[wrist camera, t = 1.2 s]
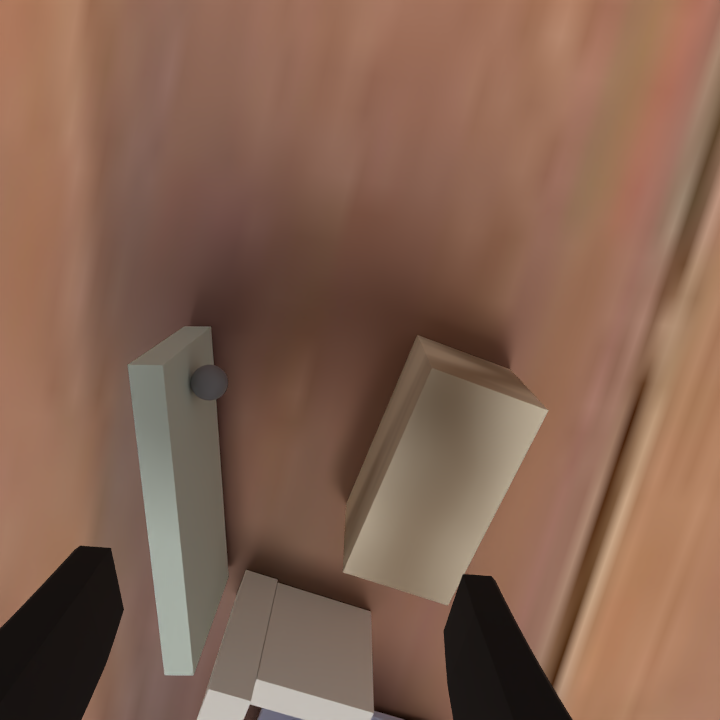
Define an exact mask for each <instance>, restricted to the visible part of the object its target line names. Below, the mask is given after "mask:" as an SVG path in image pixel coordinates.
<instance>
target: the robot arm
mask: <svg viewBox="0 0 720 720" xmlns="http://www.w3.org/2000/svg"><path fill="white" fill-rule="evenodd" d="M123 610H124V608H123V603H122V598H121V594H120V589H119V584H118V579H117V575H116V570H115V565H114V560H113V556H112V551H111V548H102V547H89V546H79V547H78V548H76V549H75V550H74V551H73V552H72V553H71V554H70V556H69V557H68V558H67V559H66V560H65V561H64V562H63V563H62V564H61V565H60V566H59V567H58V569H57V570H56V571H55V572H54V573H53V574H52V575H51V576H50V577H49V578H48V579H47V580H46V581H45V582H44V584H43V585H42V586H41V587H40V588H39V589H38V590H37V591H36V592H35V593H34V594H33V595H32V596H31V597H30V598H29V599H28V600H27V601H26V603H25V604H24V605H23V606H22V607H21V608H20V609H19V610H18V611H17V612H16V613H15V614H14V615H13V616H12V617H11V618H10V619H9V620H8V621H7V622H6V623H5V624H4V625H3V626H2V627H1V628H0V720H81V719H82V717H83V715H84V713H85V710H86V708H87V706H88V704H89V701H90V699H91V697H92V695H93V692H94V690H95V688H96V686H97V683H98V681H99V679H100V677H101V674H102V672H103V670H104V667H105V665H106V662H107V660H108V657H109V654H110V651H111V648H112V645H113V642H114V639H115V636H116V633H117V629H118V626H119V623H120V620H121V617H122V614H123ZM444 643H445V658H446V671H447V683H448V690H449V696H450V702H451V708H452V714H453V720H572V718H571V716H570V715H569V713H568V712H567V710H566V708H565V707H564V705H563V704H562V702H561V700H560V699H559V697H558V695H557V694H556V692H555V690H554V688H553V687H552V685H551V683H550V682H549V680H548V678H547V677H546V675H545V673H544V671H543V670H542V668H541V666H540V665H539V663H538V661H537V659H536V658H535V656H534V654H533V652H532V650H531V649H530V647H529V645H528V643H527V641H526V639H525V638H524V636H523V634H522V632H521V630H520V628H519V627H518V625H517V623H516V621H515V619H514V617H513V615H512V613H511V611H510V609H509V607H508V605H507V603H506V601H505V599H504V597H503V595H502V593H501V591H500V589H499V587H498V585H497V583H496V581H495V580H494V579H493V577H492V576H481V575H467V574H463V575H462V578H461V581H460V584H459V587H458V590H457V593H456V596H455V599H454V602H453V605H452V608H451V611H450V614H449V617H448V620H447V623H446V626H445V629H444ZM257 720H303V719H300V718H296V717H293V716H289V715H286V714H282V713H279V712H275V711H272V710H268V709H265V708H262V709H261V711H260V713H259V716H258V718H257ZM371 720H404V719H401V718H398V717H394V716H391V715H387V714H384V713H380V712H377V711H374V714H373V716H372V718H371Z"/></svg>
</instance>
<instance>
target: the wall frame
mask: <svg viewBox="0 0 720 720" xmlns="http://www.w3.org/2000/svg"><path fill="white" fill-rule="evenodd" d="M277 581H278V579H274V578H271V577H268V576H265V575H262V574H258V573H255V572H252V571H249V570H246V571H245V573H244V576H243V579H242V581H241V584H240V587H239V590H238V592H237V595H236V598H235V601H234V604H233V607H232V610H231V614H230V617H229V620H228V623H227V626H226V629H225V632H224V636H223V639H222V642H221V645H220V648H219V651H218V654H217V658H216V661H215V664H214V667H213V670H212V673H211V677H210V680H209V683H208V686H207V689H206V692H205V695H204V699H203V702H202V705H201V708H200V711H199V714H198V717H197V720H244V717H245V715H246V712H247V710H248V708H249V705H250V704H251V705H254V706H258V707H261V708H265V709H268V710H272V711H275V712H279V713H282V714H286V715H289V716H293V717H296V718H300V719H303V720H371V718H372V716H373V714H374V698H373V662H372V627H371V611H368V610H365V609H361V608H358V607H355V606H352V605H348V604H345V603H342V602H339V601H336V600H332V599H329V598H326V597H323V596H320V595H316V594H313V593H310V592H307V591H303V590H300V589H297V588H294V587H291V586H287V585H284V584H281V583H277Z"/></svg>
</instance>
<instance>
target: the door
mask: <svg viewBox="0 0 720 720" xmlns="http://www.w3.org/2000/svg"><path fill="white" fill-rule="evenodd" d="M128 372H129V380H130V389H131V397H132V406H133V414H134V422H135V431H136V439H137V448H138V456H139V464H140V473H141V481H142V490H143V498H144V506H145V515H146V523H147V532H148V540H149V548H150V557H151V565H152V574H153V582H154V590H155V599H156V607H157V616H158V624H159V632H160V641H161V649H162V658H163V666H164V674H165V675H191V676H194V673H195V670H196V667H197V665H198V662H199V659H200V656H201V653H202V650H203V648H204V645H205V642H206V639H207V636H208V634H209V631H210V628H211V625H212V622H213V619H214V617H215V614H216V611H217V608H218V605H219V603H220V600H221V597H222V594H223V591H224V588H225V586H226V583H227V580H228V577H229V575H228V560H227V546H226V532H225V518H224V503H223V489H222V475H221V461H220V446H219V432H218V418H217V404H216V399H218V398H220V397H221V396H222V395H223V394H224V393H225V391H226V389H227V387H228V378H227V375H226V373H225V372H224V371H223V370H222V369H221V368H220V367H218V366H215V365H214V361H213V347H212V333H211V326H184V327H183V328H181V329H180V330H178V331H177V332H175V333H174V334H172V335H171V336H169V337H168V338H166V339H165V340H163V341H162V342H160V343H159V344H158V345H156V346H155V347H153V348H152V349H150V350H149V351H147V352H146V353H144V354H143V355H141V356H140V357H138V358H137V359H135V360H134V361H132V362H131V363H130V364H128Z"/></svg>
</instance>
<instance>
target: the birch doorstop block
mask: <svg viewBox="0 0 720 720" xmlns="http://www.w3.org/2000/svg"><path fill="white" fill-rule="evenodd" d="M547 412H548V410H547V408H546V407H545V406H544V405H543V404H542V403H541V402H540V401H539V400H538V399H537V398H536V397H535V395H534V394H533V393H532V392H531V391H530V390H529V389H528V388H527V387H526V386H525V385H524V384H523V383H522V381H521V380H520V379H519V378H518V377H517V376H516V375H515V374H514V373H513V372H512V371H511V370H510V369H508V368H505V367H503V366H500V365H497V364H495V363H492V362H489V361H486V360H484V359H481V358H478V357H476V356H473V355H470V354H468V353H465V352H462V351H460V350H457V349H454V348H452V347H449V346H446V345H443V344H441V343H438V342H435V341H433V340H430V339H427V338H425V337H422V336H419V335H417V336H416V339H415V341H414V344H413V346H412V348H411V351H410V353H409V355H408V358H407V360H406V363H405V365H404V367H403V370H402V372H401V375H400V377H399V379H398V382H397V384H396V386H395V389H394V391H393V394H392V396H391V398H390V401H389V403H388V405H387V408H386V410H385V413H384V415H383V417H382V420H381V422H380V425H379V427H378V429H377V432H376V434H375V436H374V439H373V441H372V444H371V446H370V448H369V451H368V453H367V455H366V458H365V460H364V463H363V465H362V467H361V470H360V472H359V475H358V477H357V479H356V482H355V484H354V486H353V489H352V491H351V494H350V496H349V498H348V501H347V503H346V516H345V537H344V558H343V572H344V573H347V574H350V575H353V576H356V577H359V578H363V579H366V580H369V581H372V582H375V583H378V584H381V585H385V586H388V587H391V588H394V589H397V590H400V591H403V592H407V593H410V594H413V595H416V596H419V597H422V598H425V599H429V600H432V601H435V602H438V603H441V604H444V605H447V606H448V604H449V603H450V601H451V599H452V597H453V595H454V593H455V591H456V589H457V587H458V585H459V583H460V581H461V578H462V575H463V574H464V573H465V571H466V570H467V568H468V566H469V564H470V562H471V560H472V558H473V556H474V554H475V552H476V550H477V548H478V546H479V544H480V542H481V540H482V538H483V537H484V535H485V533H486V531H487V529H488V527H489V525H490V523H491V521H492V519H493V517H494V515H495V513H496V511H497V509H498V507H499V505H500V503H501V502H502V500H503V498H504V496H505V494H506V492H507V490H508V488H509V486H510V484H511V482H512V480H513V478H514V476H515V474H516V472H517V470H518V469H519V467H520V465H521V463H522V461H523V459H524V457H525V455H526V453H527V451H528V449H529V447H530V445H531V443H532V441H533V439H534V437H535V436H536V434H537V432H538V430H539V428H540V426H541V424H542V422H543V420H544V418H545V416H546V414H547Z"/></svg>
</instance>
